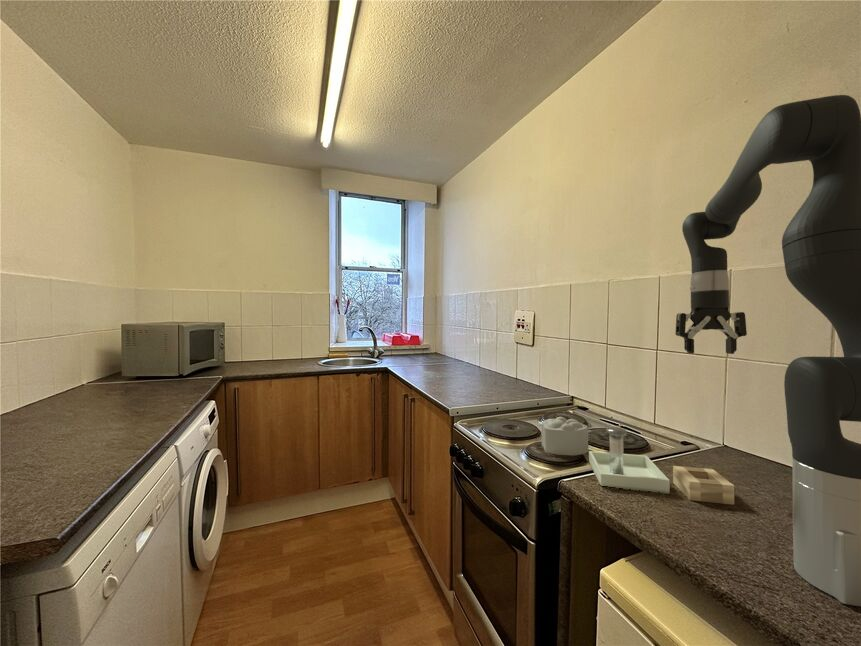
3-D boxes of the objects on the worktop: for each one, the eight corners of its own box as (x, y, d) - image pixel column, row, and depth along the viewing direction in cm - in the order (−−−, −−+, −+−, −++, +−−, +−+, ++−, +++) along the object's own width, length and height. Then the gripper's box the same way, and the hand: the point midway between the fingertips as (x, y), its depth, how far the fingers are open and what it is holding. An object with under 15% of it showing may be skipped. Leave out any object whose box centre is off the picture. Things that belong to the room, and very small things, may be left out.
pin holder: (734, 504, 70) (734, 485, 70) (689, 500, 72) (689, 481, 72) (712, 486, 77) (712, 469, 77) (673, 482, 79) (672, 465, 79)
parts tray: (669, 493, 74) (669, 480, 74) (601, 486, 78) (600, 473, 78) (646, 466, 88) (646, 455, 88) (588, 462, 91) (588, 451, 91)
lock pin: (629, 478, 81) (628, 433, 81) (609, 476, 82) (608, 431, 82) (623, 470, 85) (623, 427, 85) (604, 468, 86) (604, 426, 86)
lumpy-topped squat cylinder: (540, 441, 108) (539, 415, 108) (582, 443, 106) (581, 416, 106) (546, 454, 97) (546, 425, 97) (593, 456, 95) (593, 426, 95)
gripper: (683, 289, 83) (684, 354, 83) (753, 287, 79) (754, 355, 79) (670, 292, 90) (671, 351, 90) (733, 290, 86) (734, 352, 87)
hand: (710, 353), depth 85 cm, fingers open, 8 cm apart
